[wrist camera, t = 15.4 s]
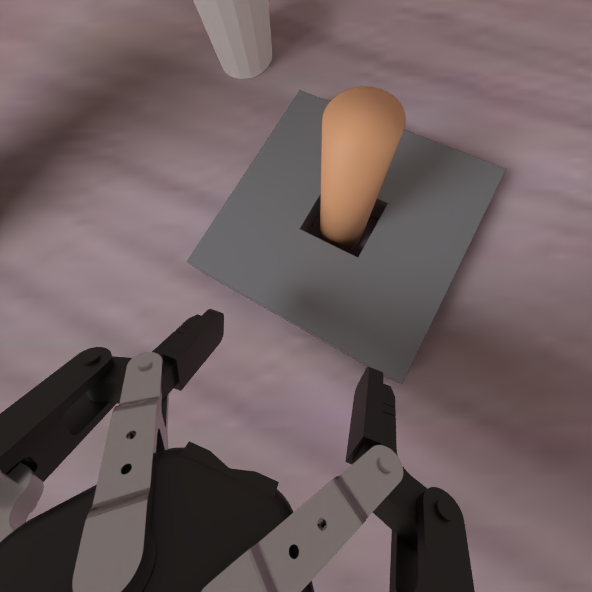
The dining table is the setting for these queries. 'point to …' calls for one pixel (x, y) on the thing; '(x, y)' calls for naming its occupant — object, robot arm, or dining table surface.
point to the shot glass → (238, 34)
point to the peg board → (337, 263)
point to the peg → (355, 160)
